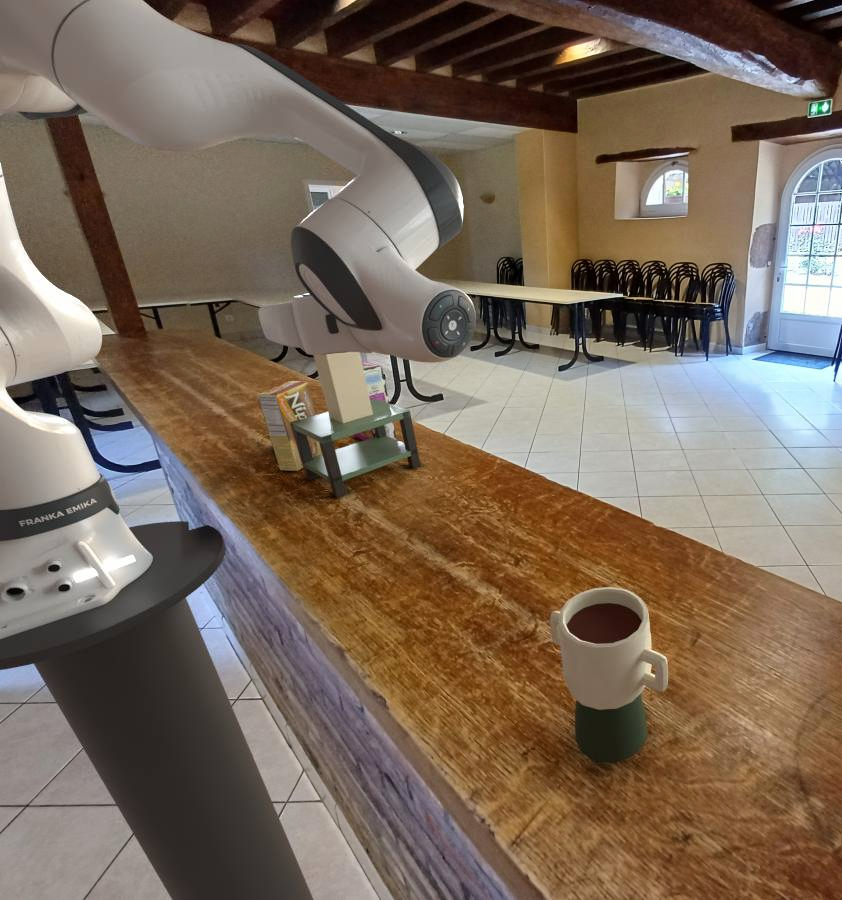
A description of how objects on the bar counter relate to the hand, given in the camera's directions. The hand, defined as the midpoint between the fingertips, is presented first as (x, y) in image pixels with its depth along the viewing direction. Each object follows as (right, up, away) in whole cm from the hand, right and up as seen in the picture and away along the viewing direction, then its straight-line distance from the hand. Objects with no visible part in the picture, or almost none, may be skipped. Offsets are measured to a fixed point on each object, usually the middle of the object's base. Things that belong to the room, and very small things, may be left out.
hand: (326, 308), depth 74 cm
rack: (-7, -23, +28) cm, 37 cm away
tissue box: (-8, -13, +24) cm, 29 cm away
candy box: (-22, -22, +35) cm, 46 cm away
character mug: (+38, -44, -27) cm, 64 cm away
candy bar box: (-12, -17, +45) cm, 49 cm away
